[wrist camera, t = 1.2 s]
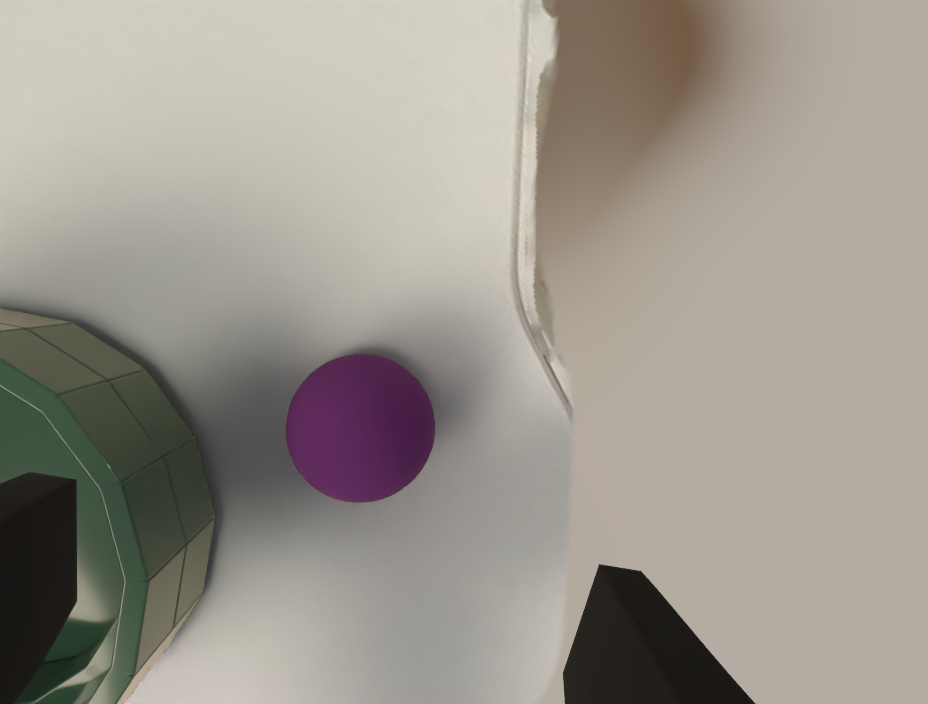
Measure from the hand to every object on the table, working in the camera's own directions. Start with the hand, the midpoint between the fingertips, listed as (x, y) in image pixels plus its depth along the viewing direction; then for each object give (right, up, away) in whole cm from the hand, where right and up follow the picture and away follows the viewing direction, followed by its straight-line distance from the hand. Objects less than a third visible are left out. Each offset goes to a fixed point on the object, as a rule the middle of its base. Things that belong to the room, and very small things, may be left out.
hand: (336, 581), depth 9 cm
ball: (-1, +1, +9) cm, 9 cm away
